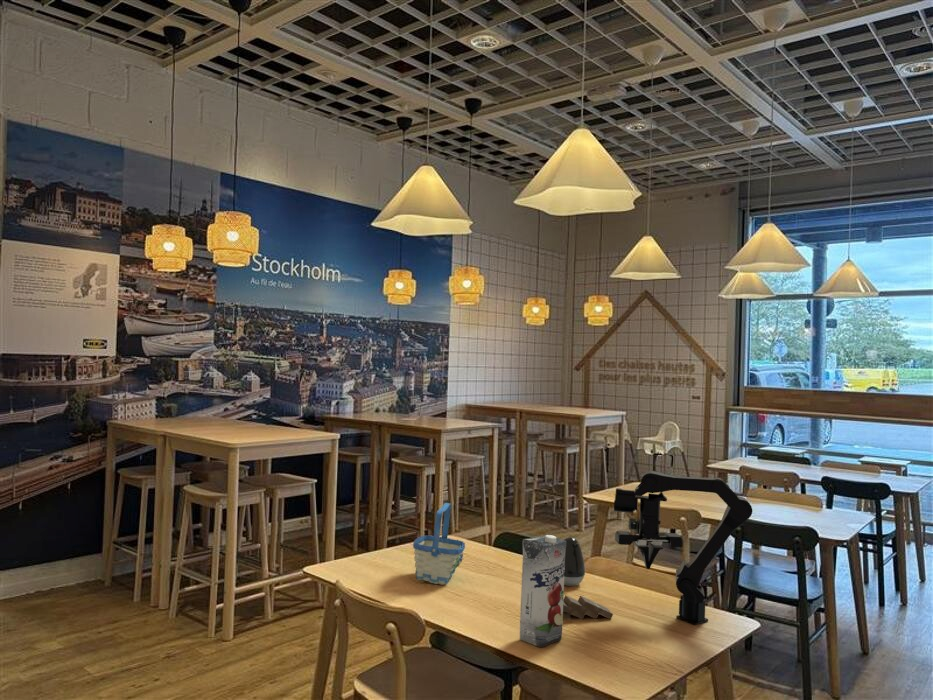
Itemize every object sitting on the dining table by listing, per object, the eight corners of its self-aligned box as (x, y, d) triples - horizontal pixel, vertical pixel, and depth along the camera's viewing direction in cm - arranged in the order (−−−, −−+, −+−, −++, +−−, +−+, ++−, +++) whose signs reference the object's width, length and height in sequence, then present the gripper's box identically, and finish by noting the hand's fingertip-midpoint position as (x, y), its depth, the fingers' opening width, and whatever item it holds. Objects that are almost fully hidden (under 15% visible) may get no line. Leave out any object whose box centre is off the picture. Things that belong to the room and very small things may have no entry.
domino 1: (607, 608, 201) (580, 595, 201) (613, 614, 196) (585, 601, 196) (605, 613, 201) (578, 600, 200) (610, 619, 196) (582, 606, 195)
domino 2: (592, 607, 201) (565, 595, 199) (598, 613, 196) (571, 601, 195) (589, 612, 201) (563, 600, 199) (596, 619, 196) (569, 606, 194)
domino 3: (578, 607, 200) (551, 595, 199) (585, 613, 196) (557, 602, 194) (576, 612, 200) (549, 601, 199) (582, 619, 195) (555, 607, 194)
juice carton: (514, 639, 178) (518, 533, 179) (540, 630, 185) (544, 528, 186) (540, 650, 172) (545, 540, 173) (566, 640, 179) (570, 535, 180)
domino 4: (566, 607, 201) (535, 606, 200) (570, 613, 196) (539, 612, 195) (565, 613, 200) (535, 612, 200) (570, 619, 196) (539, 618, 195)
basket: (457, 590, 217) (461, 514, 218) (406, 585, 219) (410, 510, 220) (467, 571, 237) (470, 502, 238) (421, 567, 240) (424, 499, 241)
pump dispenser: (561, 589, 222) (563, 541, 222) (548, 579, 232) (550, 533, 232) (590, 588, 225) (592, 540, 225) (576, 578, 235) (578, 533, 235)
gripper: (672, 510, 211) (670, 562, 211) (611, 508, 211) (609, 559, 211) (684, 518, 200) (682, 573, 200) (620, 515, 200) (618, 570, 200)
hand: (647, 568), depth 203 cm, fingers closed
